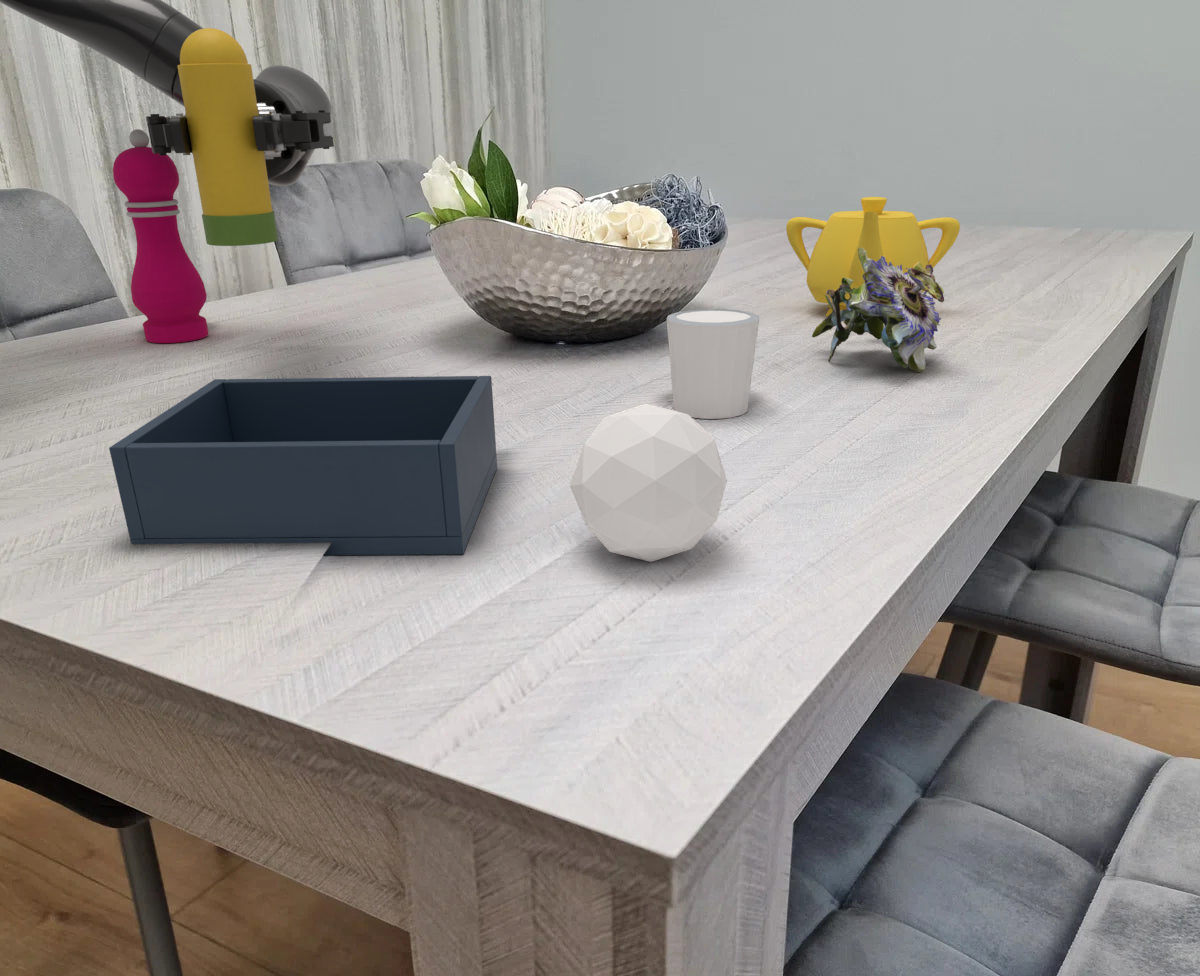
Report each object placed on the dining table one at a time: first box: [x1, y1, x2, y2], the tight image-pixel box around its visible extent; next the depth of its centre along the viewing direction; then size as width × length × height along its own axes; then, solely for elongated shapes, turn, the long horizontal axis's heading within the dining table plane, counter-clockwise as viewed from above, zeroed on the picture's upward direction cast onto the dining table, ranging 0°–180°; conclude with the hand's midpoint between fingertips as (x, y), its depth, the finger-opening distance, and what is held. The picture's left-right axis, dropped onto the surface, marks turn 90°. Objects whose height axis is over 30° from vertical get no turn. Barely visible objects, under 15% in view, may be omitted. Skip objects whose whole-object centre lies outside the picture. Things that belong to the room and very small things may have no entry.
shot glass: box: [666, 308, 760, 420], centre depth 78 cm, size 7×7×7 cm
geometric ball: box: [569, 403, 728, 563], centre depth 53 cm, size 8×8×8 cm
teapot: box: [785, 196, 961, 318], centre depth 112 cm, size 14×14×12 cm
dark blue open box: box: [108, 375, 498, 556], centre depth 60 cm, size 18×15×6 cm
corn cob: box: [178, 27, 279, 247], centre depth 73 cm, size 5×5×14 cm
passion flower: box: [811, 247, 945, 373], centre depth 90 cm, size 11×11×12 cm
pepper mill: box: [112, 128, 209, 344], centre depth 105 cm, size 7×7×20 cm
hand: (218, 134), depth 70 cm, fingers closed on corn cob, 4 cm apart
